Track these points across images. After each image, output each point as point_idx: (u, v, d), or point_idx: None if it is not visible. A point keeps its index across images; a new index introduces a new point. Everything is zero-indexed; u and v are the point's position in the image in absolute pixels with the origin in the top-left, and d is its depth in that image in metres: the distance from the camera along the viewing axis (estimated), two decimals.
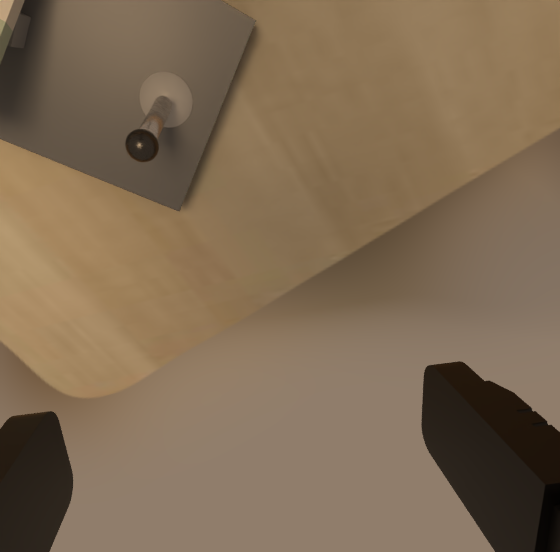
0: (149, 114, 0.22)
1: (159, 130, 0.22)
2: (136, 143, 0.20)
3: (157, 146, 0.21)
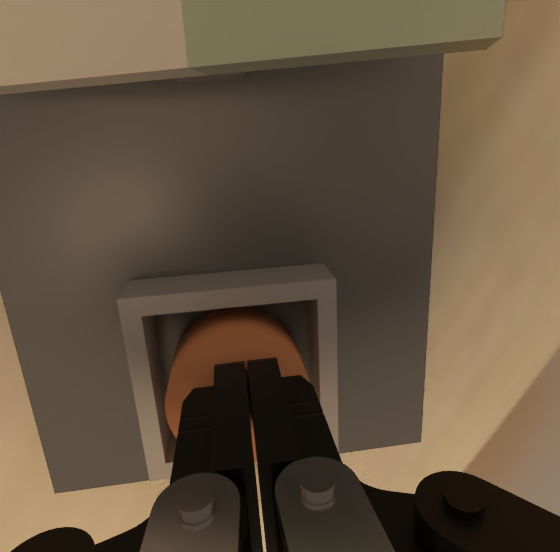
0: None
1: None
2: None
3: None
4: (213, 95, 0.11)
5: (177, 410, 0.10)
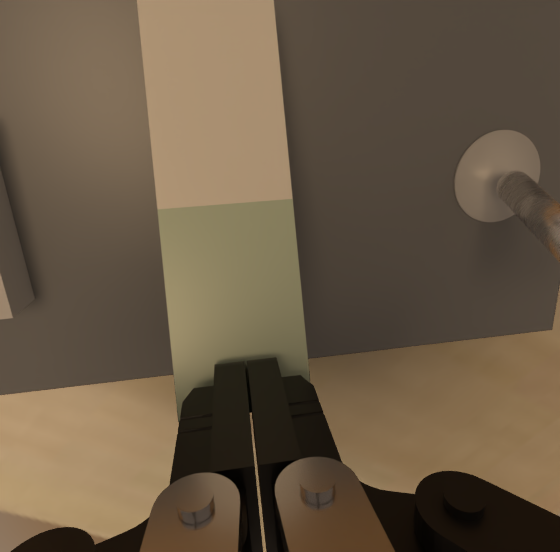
0: (548, 216, 0.12)
1: None
2: None
3: None
4: None
5: None
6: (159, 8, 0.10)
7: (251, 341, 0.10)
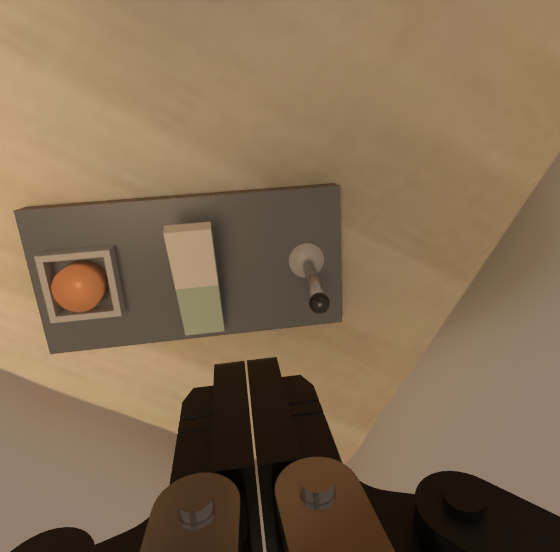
0: (309, 279, 0.33)
1: None
2: (319, 305, 0.31)
3: None
4: None
5: (72, 270, 0.32)
6: (171, 236, 0.29)
7: (206, 318, 0.34)
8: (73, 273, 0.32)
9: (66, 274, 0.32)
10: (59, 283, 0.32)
